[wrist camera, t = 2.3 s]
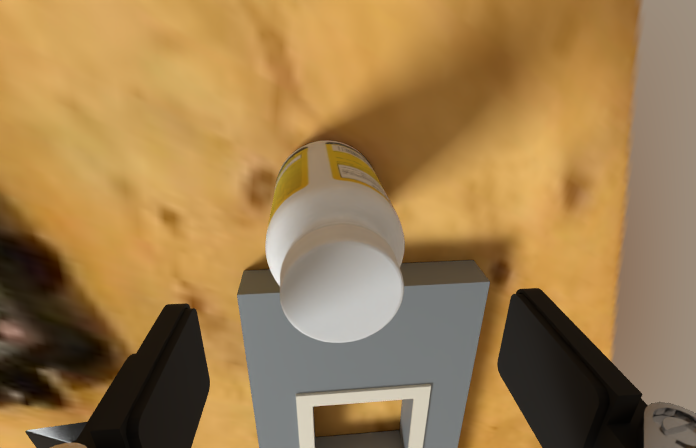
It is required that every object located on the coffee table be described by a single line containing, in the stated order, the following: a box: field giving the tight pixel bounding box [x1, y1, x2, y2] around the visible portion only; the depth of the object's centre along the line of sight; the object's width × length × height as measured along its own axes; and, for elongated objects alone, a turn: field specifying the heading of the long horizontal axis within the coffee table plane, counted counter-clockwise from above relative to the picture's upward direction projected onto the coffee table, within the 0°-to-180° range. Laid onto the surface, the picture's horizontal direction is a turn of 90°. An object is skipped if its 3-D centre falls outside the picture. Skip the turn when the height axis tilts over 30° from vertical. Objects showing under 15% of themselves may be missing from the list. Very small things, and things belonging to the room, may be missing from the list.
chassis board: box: [237, 260, 490, 448], centre depth 26 cm, size 20×14×3 cm
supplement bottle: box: [266, 140, 405, 343], centre depth 16 cm, size 5×5×10 cm
